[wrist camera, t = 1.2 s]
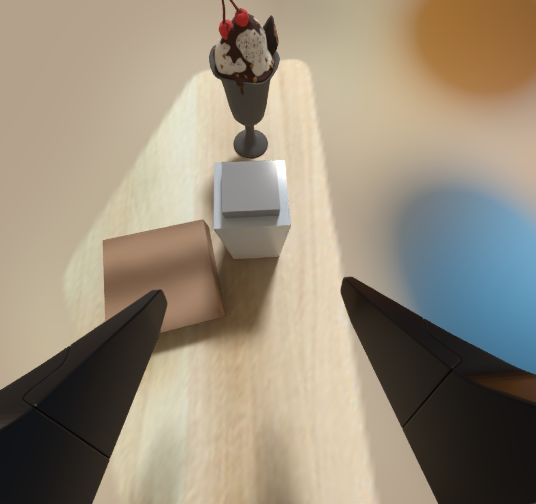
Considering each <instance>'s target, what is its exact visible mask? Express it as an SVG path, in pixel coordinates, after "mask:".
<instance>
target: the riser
mask: <svg viewBox="0 0 536 504" xmlns="http://www.w3.org/2000/svg"><path fill="white" fill-rule="evenodd" d="M103 265H104V294H105V321H107V320H108V319H110V318H111V317H113V316H114V315H116V314H117V313H119V312H120V311H122V310H123V309H125V308H126V307H128V306H129V305H131V304H132V303H134V302H135V301H137V300H138V299H140V298H141V297H142V296H144V295H145V294H147V293H148V292H150V291H151V290H156V289H161V290H163V292H164V295H165V297H166V300H167V309H166V313H165V316H164V320H163V324H162V327H161V331H160V333H162V332H166V331H169V330H173V329H177V328H181V327H185V326H189V325H193V324H197V323H201V322H205V321H208V320H212V319H216V318H220V317H223V316H225V313H224V307H223V302H222V296H221V291H220V285H219V279H218V274H217V268H216V263H215V257H214V252H213V246H212V241H211V235H210V230H209V227H208V225H207V224H206V223H205V221H204V220H198V221H193V222H188V223H183V224H179V225H174V226H169V227H164V228H159V229H155V230H150V231H145V232H140V233H135V234H131V235H126V236H121V237H116V238H111V239H107V240H103Z"/></svg>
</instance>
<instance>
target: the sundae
mask: <svg viewBox="0 0 536 504" xmlns="http://www.w3.org/2000/svg"><path fill="white" fill-rule="evenodd" d="M230 2H231V3H232V4H233V6H234V7H235V9H236V10H237V11H236V13H235V17H234V18H233V19H232V20H231V21H229V20H225V5H224V0H222V5H223V21H222V22H221V23H220V26H219V32H220V34H221V37H220V38H219V40H218V42H217V44H216V45H215V46H214V47H213V48H212V49H211V51H210V55H209V62H210V67H211V70H212V72H213V74H214V75H215V77H216V78H218V79H220V80H221V81H222V84H223V86H224V89H225V93H226V96H227V100H228V103H229V106H230V109H231V112H232V114H233V117H234V118H235V119H236V121H238V122H239V123H241V124H242V125H245V129H246V130H244V131H242V132H240V133H239V134H238V135H237V136H236V137H235V139H234V148H235V150H236V151H237V152H238V153H239V154H240V155H242V156H244V157H249V158H252V157H257V156H260V155H261V154H263V153H264V152H265V151H266V149H267V146H268V142H267V138H266V137H265V135H264V134H263V133H261V132H260V131H257V130H254V125H256V124H257V123H258V122H260V121H261V120H262V118H263V116H264V113H265V109H266V105H267V98H268V91H269V84H270V79H271V78H272V76H273V75H274V73H275V72H276V70H277V68H278V65H279V60H280V58H279V55H278V53H277V52H276V50H277V46H278V36H277V31H276V27H275V24H274V19H273V17H272V16H270V17H269V18H268V20H267V22H266V23H265V25H264V26H263V27H262V26H261V24H260V23H259V21H258V20H257V19H256V18H255V17H254V16H252V15H250V14H248V13H247V11H246V10H244V9H241V8H240V9H238V8H237V6H236V5H235V3H234V2H233V1H232V0H230Z"/></svg>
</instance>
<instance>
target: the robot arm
mask: <svg viewBox="0 0 536 504" xmlns="http://www.w3.org/2000/svg"><path fill="white" fill-rule="evenodd" d="M341 295H342V298H343V301H344V304H345V307H346V310H347V313H348V315H349V318H350V321H351V323H352V325H353V327H354V329H355V331H356V333H357V335H358V338H359V340H360V342H361V344H362V346H363V348H364V350H365V352H366V354H367V356H368V358H369V360H370V362H371V365H372V367H373V369H374V371H375V373H376V375H377V377H378V379H379V381H380V383H381V385H382V388H383V390H384V392H385V393H386V396H387V398H388V400H389V402H390V404H391V406H392V408H393V410H394V412H395V414H396V417H397V419H398V421H399V423H400V425H401V427H402V428H403V432H404V433H405V435H406V438H407V440H408V442H409V444H410V446H411V448H412V450H413V452H414V454H415V456H416V459H417V461H418V463H419V465H420V467H421V469H422V471H423V473H424V475H425V477H426V479H427V481H428V483H429V486H430V488H431V490H432V492H433V494H434V496H435V498H436V500H437V502H438V504H536V374H533V373H530V372H527V371H525V370H522V369H520V368H517V367H515V366H513V365H511V364H509V363H507V362H505V361H503V360H501V359H499V358H497V357H495V356H493V355H491V354H489V353H488V352H486V351H484V350H482V349H480V348H478V347H476V346H474V345H472V344H470V343H468V342H466V341H464V340H462V339H460V338H459V337H457V336H455V335H452V334H451V333H449V332H447V331H445V330H444V329H442V328H440V327H438V326H437V325H435V324H433V323H431V322H430V321H428V320H426V319H423V317H421V316H419V315H417V314H416V313H414V312H412V311H410V310H409V309H407V308H405V307H404V306H402V305H400V304H398V303H397V302H395V301H393V300H391V299H390V298H388V297H386V296H384V295H382V294H381V293H379V292H378V291H376V290H374V289H373V288H371V287H369V286H367V285H365V284H364V283H362V282H360V281H359V280H357V279H355V278H353V277H344V278H343V281H342V285H341ZM166 309H167V300H166V297H165V295H164V292H163V290H161V289H156V290H151V291H150V292H148V293H147V294H145V295H144V296H142V297H141V298H140V299H138V300H137V301H135V302H134V303H132V304H131V305H129V306H128V307H126V308H125V309H123V310H122V311H120V312H119V313H117V314H116V315H114V316H113V317H111V318H110V319H108V320H107V321H105V322H104V323H102V324H101V325H100V326H98V327H97V328H95V329H94V330H92V331H91V332H89V333H88V334H86V335H85V336H83V337H82V338H80V339H79V340H77V341H76V342H74V343H73V344H71V346H68V347H67V348H65V349H64V350H62V351H61V352H60V353H58V354H57V355H55V356H53V357H52V358H51V359H49V360H47V361H46V362H45V363H43V364H41V365H40V366H38V367H37V368H35V369H33V370H32V371H30V372H29V373H27V374H25V375H24V376H22V377H21V378H19V379H17V380H16V381H14V382H13V383H11V384H9V385H8V386H6V387H5V388H3V389H1V390H0V504H92V503H93V500H94V498H95V495H96V493H97V490H98V488H99V485H100V483H101V480H102V478H103V475H104V473H105V470H106V468H107V465H108V463H109V460H110V459H109V458H110V457H111V455H112V452H113V450H114V447H115V445H116V442H117V440H118V437H119V435H120V432H121V430H122V427H123V425H124V422H125V420H126V417H127V415H128V412H129V410H130V407H131V405H132V402H133V400H134V397H135V395H136V392H137V390H138V387H139V385H140V382H141V380H142V377H143V375H144V372H145V370H146V367H147V365H148V362H149V360H150V357H151V355H152V352H153V350H154V347H155V345H156V342H157V340H158V337H159V334H160V331H161V327H162V324H163V320H164V316H165V313H166Z"/></svg>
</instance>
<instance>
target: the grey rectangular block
mask: <svg viewBox="0 0 536 504" xmlns="http://www.w3.org/2000/svg"><path fill="white" fill-rule="evenodd" d="M290 226H291V220H290V211H289V201H288V192H287V182H286V173H285V163H284V160H281V161H276V160H268V161H240V162H222V163H214V230H215V232H216V233H217V235H218V236H219V238H220V239H221V241H222V242H223V244H224V245H225V247H226V248H227V250H228V251H229V253H230V254H231V256H232V257H233V259H245V258H262V257H279V256H280V253H281V250H282V248H283V245H284V242H285V240H286V237H287V234H288V232H289V229H290Z"/></svg>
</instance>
